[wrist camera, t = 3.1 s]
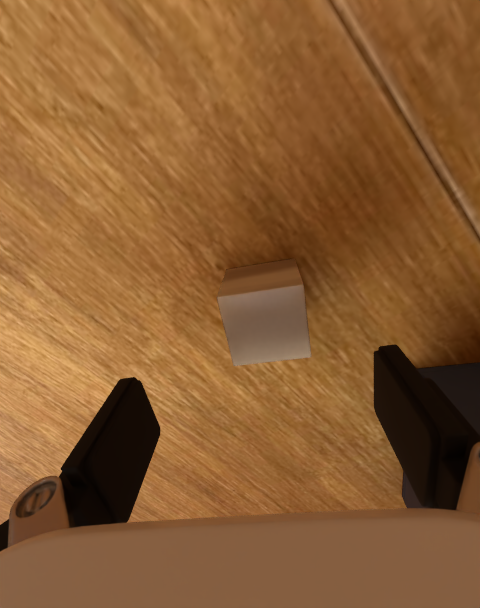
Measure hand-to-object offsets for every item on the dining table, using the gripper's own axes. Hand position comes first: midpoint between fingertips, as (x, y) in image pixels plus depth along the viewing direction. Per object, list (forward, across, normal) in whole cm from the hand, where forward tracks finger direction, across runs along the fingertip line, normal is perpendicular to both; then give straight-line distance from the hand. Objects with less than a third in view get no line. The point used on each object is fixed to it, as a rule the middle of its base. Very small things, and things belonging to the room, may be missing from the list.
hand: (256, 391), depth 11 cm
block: (+9, -1, 0) cm, 9 cm away
